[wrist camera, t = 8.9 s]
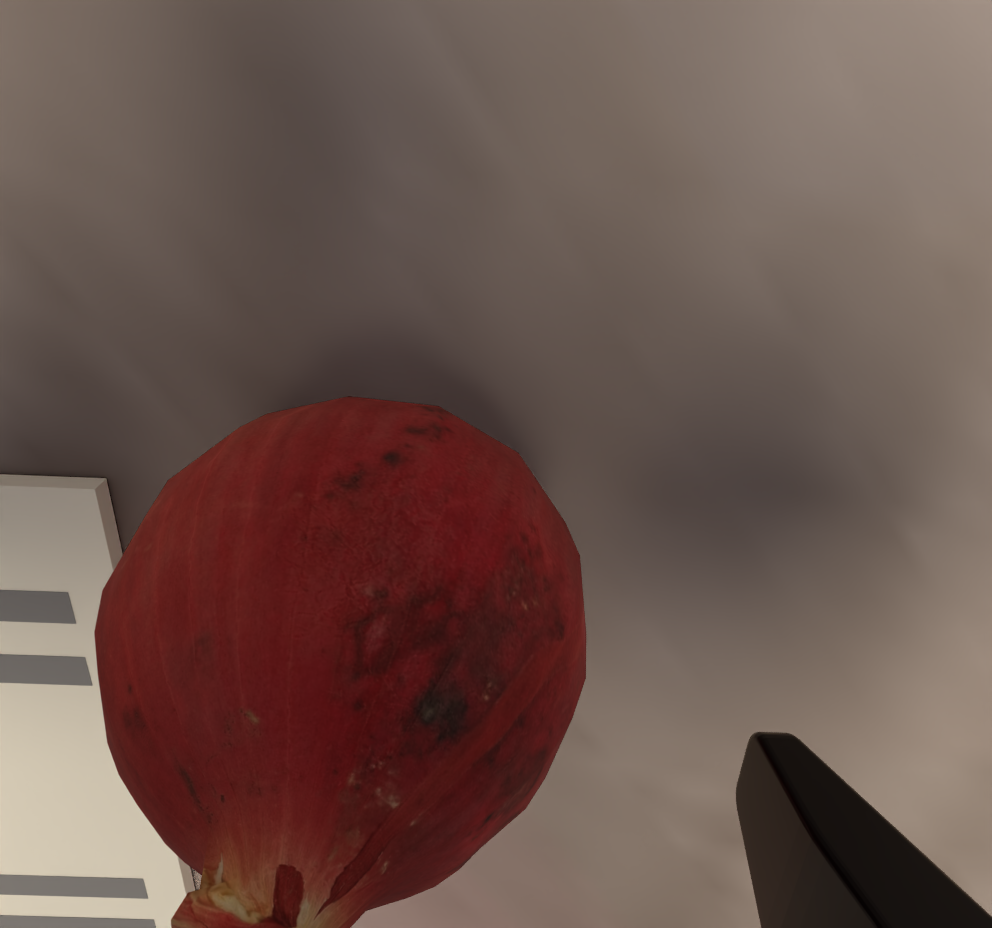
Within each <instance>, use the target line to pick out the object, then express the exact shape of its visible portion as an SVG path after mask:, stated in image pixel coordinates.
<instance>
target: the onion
mask: <svg viewBox="0 0 992 928" xmlns="http://www.w3.org/2000/svg"><path fill="white" fill-rule="evenodd" d="M94 635H95V647H96V659H97V672H98V680H99V687H100V694H101V702H102V709H103V716H104V723H105V730H106V738H107V744H108V746H109V749H110V752H111V755H112V758H113V760H114V763H115V766H116V769H117V771H118V774H119V776H120V778H121V779H122V781H123V783H124V784H125V786H126V788H127V789H128V791H129V792H130V794H131V796H132V797H133V799H134V801H135V802H136V804H137V805H138V807H139V808H140V810H141V811H142V812H143V814H144V815H145V817H146V818H147V819H148V821H149V822H150V824H151V825H152V826H153V828H154V829H155V830H156V832H157V833H158V835H159V836H160V837H161V839H162V840H163V842H164V843H165V844H166V845H167V846H168V847H169V848H170V849H171V850H172V851H173V852H174V853H175V854H176V855H177V856H178V857H179V858H180V859H181V860H182V861H183V862H184V863H186V864H187V865H188V866H190V867H191V868H192V869H194V870H195V871H197V872H198V873H199V874H201V875H202V878H201V884H200V889H199V890H196V891H192V892H188V893H187V895H186V897H185V898H184V900H183V901H182V903H181V904H180V906H179V908H178V909H177V911H176V912H175V914H174V916H173V917H172V919H171V928H350V927H351V926H352V925H353V924H354V923H355V922H356V921H357V920H358V919H359V918H360V916H361V915H362V914H363V913H364V912H365V911H367V910H370V909H373V908H376V907H380V906H383V905H386V904H389V903H393V902H396V901H399V900H402V899H405V898H408V897H411V896H413V895H415V894H418V893H420V892H423V891H425V890H428V889H430V888H433V887H435V886H436V885H438V884H439V883H441V882H442V881H443V880H445V879H446V878H448V877H449V876H450V875H452V874H453V873H455V872H456V871H458V870H459V869H460V868H461V867H462V866H463V865H464V864H465V863H466V862H467V861H468V860H469V859H470V858H471V857H472V856H473V855H474V854H475V853H476V852H477V851H478V850H479V849H480V848H481V847H482V846H483V845H484V844H486V843H487V842H488V841H489V840H490V839H491V838H492V837H494V836H495V835H496V834H497V833H498V832H499V831H501V830H502V829H503V828H504V827H505V826H506V825H507V824H509V823H510V822H511V821H512V820H513V819H514V818H516V817H517V816H518V815H519V814H520V813H521V812H522V811H524V810H525V809H526V807H527V806H528V804H529V803H530V801H531V799H532V798H533V796H534V795H535V793H536V792H537V790H538V789H539V787H540V785H541V784H542V782H543V781H544V779H545V777H546V775H547V773H548V771H549V768H550V766H551V764H552V762H553V760H554V757H555V755H556V753H557V751H558V749H559V746H560V744H561V742H562V740H563V738H564V735H565V733H566V731H567V729H568V726H569V724H570V722H571V720H572V718H573V715H574V712H575V709H576V706H577V703H578V700H579V697H580V694H581V691H582V688H583V685H584V682H585V679H586V626H585V613H584V601H583V589H582V576H581V564H580V555H579V553H578V550H577V548H576V546H575V544H574V541H573V539H572V537H571V534H570V532H569V530H568V527H567V525H566V523H565V521H564V520H563V518H562V517H561V515H560V514H559V512H558V511H557V509H556V508H555V506H554V505H553V503H552V502H551V500H550V499H549V498H548V496H547V495H546V493H545V492H544V490H543V489H542V487H541V486H540V484H539V483H538V481H537V480H536V478H535V477H534V475H533V474H532V472H531V471H530V469H529V468H528V466H527V465H526V464H525V462H524V461H523V459H522V458H521V456H520V455H519V453H517V452H516V451H514V450H512V449H511V448H509V447H507V446H506V445H504V444H502V443H500V442H499V441H497V440H495V439H494V438H492V437H490V436H488V435H487V434H485V433H483V432H482V431H480V430H478V429H477V428H475V427H473V426H471V425H470V424H468V423H466V422H465V421H463V420H461V419H460V418H458V417H456V416H454V415H453V414H451V413H449V412H448V411H446V410H444V409H443V408H441V407H439V406H432V405H423V404H414V403H405V402H396V401H387V400H378V399H369V398H360V397H351V396H348V397H343V398H339V399H334V400H329V401H325V402H320V403H315V404H311V405H306V406H301V407H296V408H292V409H287V410H282V411H278V412H273V413H268V414H266V415H263V416H261V417H259V418H257V419H255V420H253V421H251V422H249V423H247V424H245V425H243V426H241V427H239V428H238V429H237V430H235V431H234V432H233V433H231V434H230V435H228V436H227V437H226V438H224V439H223V440H222V441H220V442H219V443H218V444H216V445H215V446H214V447H212V448H211V449H210V450H208V451H207V452H206V453H204V454H203V455H202V456H200V457H199V458H197V459H196V460H195V461H193V462H192V463H191V464H189V465H188V466H187V467H185V468H184V469H183V470H181V471H180V472H179V473H177V474H176V475H175V476H173V477H172V478H171V479H169V480H168V481H167V483H166V484H165V486H164V488H163V489H162V491H161V492H160V494H159V495H158V497H157V499H156V500H155V502H154V503H153V505H152V506H151V508H150V510H149V511H148V513H147V514H146V516H145V518H144V519H143V521H142V523H141V525H140V526H139V528H138V530H137V531H136V533H135V535H134V537H133V538H132V540H131V542H130V544H129V545H128V547H127V549H126V550H125V552H124V554H123V556H122V557H121V559H120V561H119V562H118V564H117V566H116V568H115V569H114V571H113V573H112V575H111V576H110V578H109V580H108V581H107V583H106V585H105V587H104V588H103V590H102V595H101V600H100V605H99V610H98V616H97V621H96V626H95V631H94Z"/></svg>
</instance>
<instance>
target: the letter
mask: <svg viewBox="0 0 992 928" xmlns="http://www.w3.org/2000/svg"><path fill="white" fill-rule="evenodd" d="M122 556H123V553H122V549H121V544H120V540H119V535H118V530H117V526H116V521H115V516H114V512H113V507H112V502H111V498H110V493H109V489H108V484H107V479H106V478H84V477H58V476H32V475H7V474H0V928H171V919H172V917H173V916H174V914H175V912H176V911H177V909H178V908H179V906H180V904H181V903H182V901H183V900H184V898H185V897H186V895H187V893H188V892H192V891H195V887H194V882H193V878H192V873H191V868H190V866H188V865H187V864H186V863H184V862H183V861H182V860H181V859H180V858H179V857H178V856H177V855H176V854H175V853H174V852H173V851H172V850H171V849H170V848H169V847H168V846H167V845H166V844H165V843H164V842H163V840H162V839H161V837H160V836H159V835H158V833H157V832H156V830H155V829H154V828H153V826H152V825H151V824H150V822H149V821H148V819H147V818H146V817H145V815H144V814H143V812H142V811H141V810H140V808H139V807H138V805H137V804H136V802H135V801H134V799H133V797H132V796H131V794H130V792H129V791H128V789H127V788H126V786H125V784H124V783H123V781H122V779H121V778H120V776H119V774H118V771H117V769H116V766H115V763H114V760H113V758H112V755H111V752H110V749H109V746H108V744H107V738H106V730H105V723H104V716H103V709H102V702H101V694H100V687H99V680H98V672H97V659H96V647H95V635H94V631H95V626H96V621H97V616H98V610H99V605H100V600H101V595H102V590H103V588H104V587H105V585H106V583H107V581H108V580H109V578H110V576H111V575H112V573H113V571H114V569H115V568H116V566H117V564H118V562H119V561H120V559H121V557H122Z"/></svg>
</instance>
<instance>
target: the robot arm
mask: <svg viewBox="0 0 992 928" xmlns="http://www.w3.org/2000/svg"><path fill="white" fill-rule="evenodd" d="M736 804H737V811H738V816H739V821H740V826H741V831H742V835H743V840H744V845H745V850H746V855H747V860H748V865H749V870H750V874H751V879H752V884H753V889H754V894H755V899H756V904H757V908H758V913H759V918H760V923H761V928H992V916H991V915H989V914H988V913H987V912H986V911H985V910H984V909H983V908H982V907H981V906H980V905H979V904H978V903H976V902H975V901H974V900H973V899H972V898H971V897H970V896H969V895H968V894H967V893H966V892H965V891H963V890H962V889H961V888H960V887H959V886H958V885H957V884H956V883H955V882H954V881H953V880H951V879H950V878H949V877H948V876H947V875H946V874H945V873H944V872H943V871H942V870H941V869H940V868H938V867H937V866H936V865H935V864H934V863H933V862H932V861H931V860H930V859H929V858H928V857H926V856H925V855H924V854H923V853H922V852H921V851H920V850H919V849H918V848H917V847H916V846H915V845H913V844H912V843H911V842H910V841H909V840H908V839H907V838H906V837H905V836H904V835H903V834H901V833H900V832H899V831H898V830H897V829H896V828H895V827H894V826H893V825H892V824H891V823H890V822H888V821H887V820H886V819H885V818H884V817H883V816H882V815H881V814H880V813H879V812H878V811H876V810H875V809H874V808H873V807H872V806H871V805H870V804H869V803H868V802H867V801H866V800H865V799H863V798H862V797H861V796H860V795H859V794H858V793H857V792H856V791H855V790H854V789H853V788H851V787H850V786H849V785H848V784H847V783H846V782H845V781H844V780H843V779H842V778H841V777H840V776H838V775H837V774H836V773H835V772H834V771H833V770H832V769H831V768H830V767H829V766H828V765H827V764H825V763H824V762H823V761H822V760H821V759H820V758H819V757H818V756H817V755H816V754H815V753H813V752H812V751H811V750H810V749H809V748H808V747H807V746H806V745H805V744H804V743H803V742H802V741H800V740H799V739H798V738H797V737H795V736H793V735H792V734H789V733H773V732H757V733H754V734H753V735H752V736H751V737H750V739H749V742H748V745H747V748H746V752H745V756H744V760H743V763H742V767H741V771H740V775H739V778H738V782H737V787H736Z"/></svg>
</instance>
